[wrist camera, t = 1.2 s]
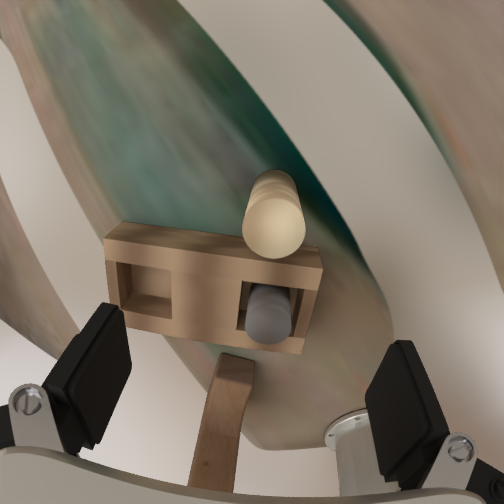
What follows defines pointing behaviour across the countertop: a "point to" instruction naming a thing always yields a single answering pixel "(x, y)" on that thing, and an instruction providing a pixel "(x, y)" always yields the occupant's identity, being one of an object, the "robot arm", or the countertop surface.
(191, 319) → the walnut socket block
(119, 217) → the countertop surface
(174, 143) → the countertop surface
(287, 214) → the birch dowel
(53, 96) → the countertop surface
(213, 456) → the wooden block
